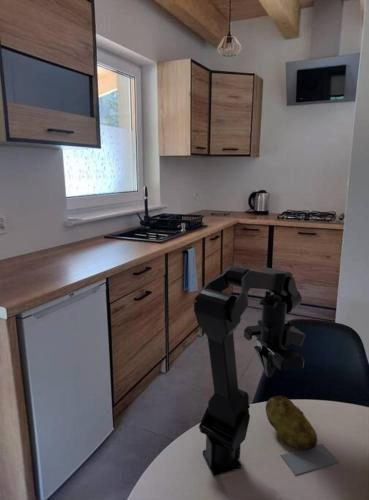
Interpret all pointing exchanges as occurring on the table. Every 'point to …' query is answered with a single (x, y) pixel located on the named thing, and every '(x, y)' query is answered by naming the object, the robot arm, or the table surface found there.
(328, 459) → the mat
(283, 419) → the potato
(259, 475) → the table surface
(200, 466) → the table surface
